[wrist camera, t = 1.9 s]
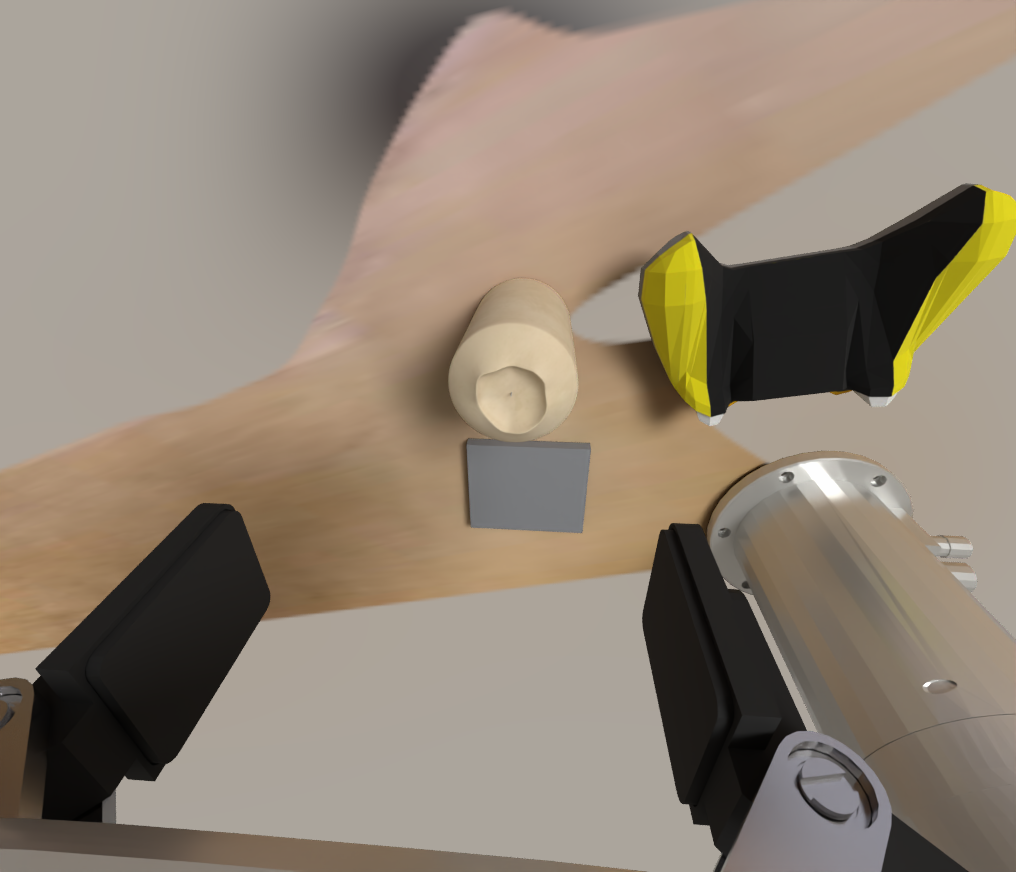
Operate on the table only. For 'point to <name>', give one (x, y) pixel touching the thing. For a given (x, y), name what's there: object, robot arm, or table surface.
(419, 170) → the table surface
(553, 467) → the grey flat block
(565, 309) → the candle
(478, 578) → the table surface
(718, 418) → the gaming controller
